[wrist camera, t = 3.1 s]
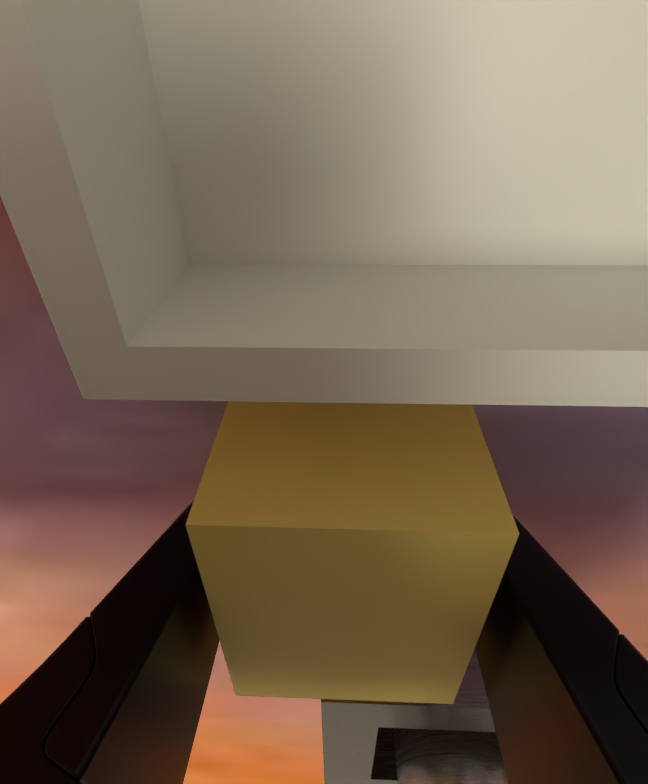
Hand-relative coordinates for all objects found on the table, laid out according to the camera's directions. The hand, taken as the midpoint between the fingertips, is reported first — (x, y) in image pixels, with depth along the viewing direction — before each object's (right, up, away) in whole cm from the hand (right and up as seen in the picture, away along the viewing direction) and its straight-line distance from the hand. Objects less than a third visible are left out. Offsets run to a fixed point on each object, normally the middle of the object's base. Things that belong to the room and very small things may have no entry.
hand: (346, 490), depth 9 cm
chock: (0, +1, +1) cm, 1 cm away
